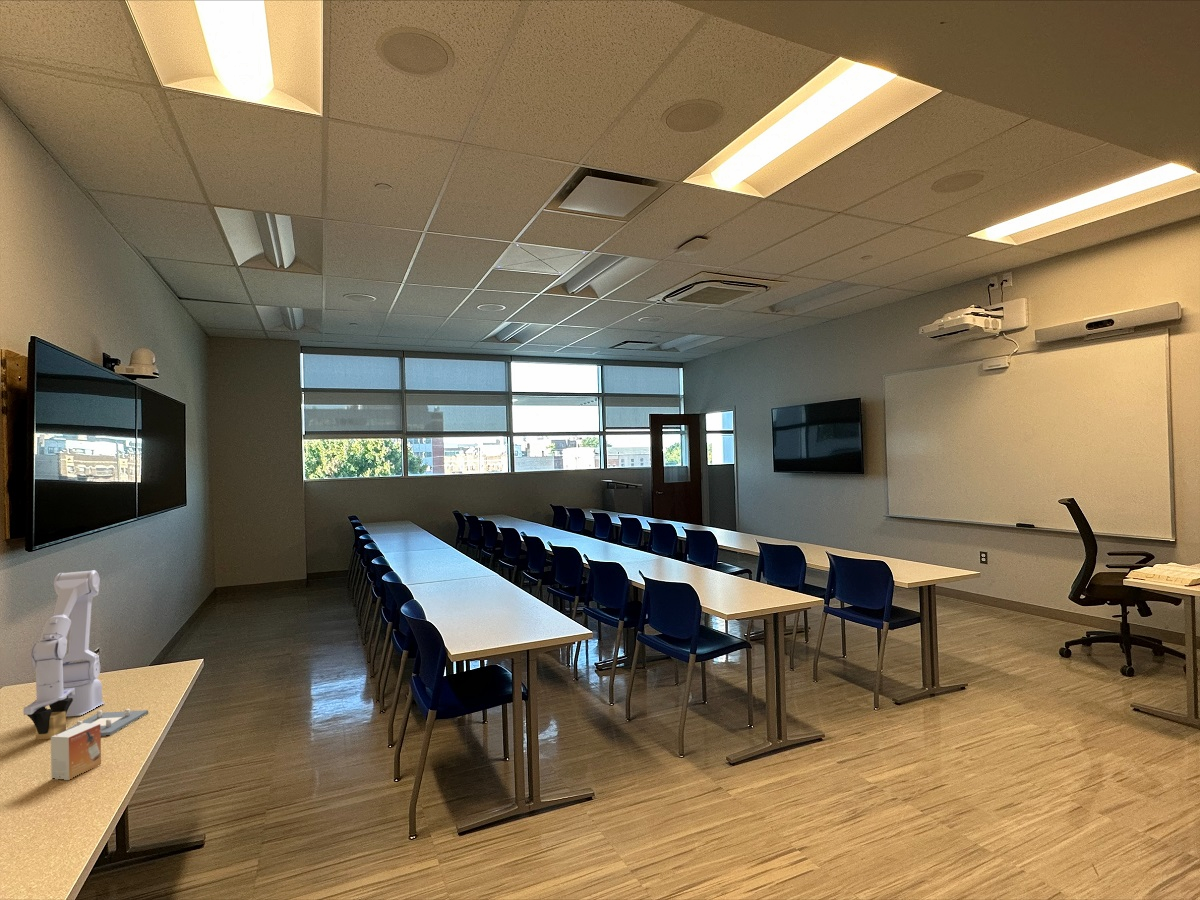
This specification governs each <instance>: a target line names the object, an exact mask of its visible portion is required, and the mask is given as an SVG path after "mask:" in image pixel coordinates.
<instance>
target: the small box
mask: <svg viewBox="0 0 1200 900" xmlns="http://www.w3.org/2000/svg"><path fill="white" fill-rule="evenodd" d="M68 729H69V728H68ZM66 730H67V729H66ZM101 737H102V736H101V728H100V724H92V723H82V724H80V725H79V726H76V727H74V728H72V729H69V730H67V731H64V732H62V733H60V734H57V735H54V736H52V737H51V739H50V765H51V766H50V767H51V768H50V769H51V771H50V774H51V775H50V777H51V779H52V778H55V779H54V780H58V779H64V780H63V781H70V779H71V780H72V779H74V778H76V777H78V776H80V775H82V774H84V772H85V773H87V772H89V771H91V770H93V769H95V768H97V767H96V766H98V765H100V764H101V765H102V739H101ZM101 765H100V766H101ZM94 767H95V768H94ZM98 767H99V766H98ZM92 768H93V769H92ZM90 769H91V770H90ZM88 770H89V771H88ZM86 771H87V772H86ZM81 773H82V774H81ZM79 774H80V775H79ZM77 775H78V776H77ZM75 776H76V777H75ZM73 777H74V778H73Z"/></svg>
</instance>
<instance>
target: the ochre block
mask: <svg viewBox="0 0 1200 900" xmlns="http://www.w3.org/2000/svg"><path fill="white" fill-rule="evenodd" d="M66 718H67V717H66V711H64V712H51V715H50V719H49V730H48V733H46V734H38V731H37V729H36V728H35V740H49V739H50V740H51V737H52V736H54V735H57V734H59V733H61V732H63V731H65V730H67V719H66Z"/></svg>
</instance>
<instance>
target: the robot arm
mask: <svg viewBox="0 0 1200 900" xmlns="http://www.w3.org/2000/svg"><path fill="white" fill-rule="evenodd" d="M100 581H101V580H100V575H99V573H98V571H97V570H95V569H92V570H85V571H73V572H72V571H71V572H59V573H57V575H56V576H55V577H54V580H53V587H54V588H53V589H54V591H55V594H56V595H57V598H56V603H55V607H54V611H53V616H52V617H49V618H48V619H47V620H45V621H46V622H45V624H44V626H43V629H42V633H41V635H40V638H39V640H38V642H37V643H35V644H33V645H32V647H31V651H30V660H31V662H32V667H33V669H34V670H35V683H36V684H35V686H36V689H35V690H36V691H35V692H36V694H35V695H36V700H34V701H33V702H31V703H30V704H29V705H27V706H25V707H23V715H24V716H27V717H28V718H29V719H30V720H31V721H32V722H33V724H34V726H35V730H36V729H37V731H38V734H46V733H48V730H49V719H50V715H51V712H64V711H66V718H67V717H80V716H81V715H82V716H84V715H86V714H88V713H90V712H91V710H92V711H94V710H95V708H96V707H98V706H100V705H101V706H103V705H105V704H106V702H105V701H103V683H102V682H101V680H100V679H99V678H98V677H99V676H100V673H101V663H100V655H98V654H97V653H96V652H93V651H92V650H90V634H91V619H92V606H93V605H92V604H93V600H94V599H93V598H94V597H97V596H98V595H99V592H100ZM69 617H70V618H69ZM68 634H69V638H67V637H68ZM68 639H69V642H68ZM67 645H68V647H67ZM67 648H68V653H67ZM66 653H67V654H66ZM78 661H79V662H78ZM104 703H105V704H104ZM102 704H103V705H102ZM48 706H49V708H47V707H48ZM101 706H100V707H101ZM98 708H99V707H98ZM93 709H94V710H93ZM96 709H97V708H96ZM89 711H90V712H89ZM87 712H88V713H87ZM85 713H86V714H85ZM83 714H84V715H83Z"/></svg>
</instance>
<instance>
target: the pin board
mask: <svg viewBox="0 0 1200 900" xmlns="http://www.w3.org/2000/svg"><path fill="white" fill-rule="evenodd" d="M147 713H148V714H149V710H148V709H143V710H131V709H130V708H126V709H124V711H111V712H109V711H108V712H103V710H102V709H99V710H97V711H96V713H95V714H93V715H92V716H90V717H88V718H86V719H84V720H78V721H76V724H75V725H73V726H70V727H69V728H68V729H67V728H66V730H65V731H67V730H69V729H72V728H74V727H76V726H79V725H80V724H82V723H92V724H100V728H101V737H107V736H106V735H111V736H113V735H114V734H116V733H118V732H119V731H121V730H122V729H121V728H123V727H124V728H126V727H127V726H126V725H128V724H130V723H131V722H133V721H135V720H136V721H138V720H139V719H138V718H140V717H141V718H143V717H145V716H146V715H145V714H147ZM148 714H147V715H148ZM144 715H145V716H144ZM142 716H143V717H142ZM141 718H140V719H141ZM137 719H138V720H137ZM136 721H135V722H136ZM133 723H134V722H133ZM131 724H132V723H131ZM131 724H130V725H131ZM125 726H126V727H125ZM128 726H129V725H128ZM124 728H123V729H124ZM120 729H121V730H120ZM118 730H119V731H118ZM117 731H118V732H117ZM63 732H64V731H63ZM115 732H116V733H115ZM61 733H62V732H61ZM113 733H114V734H113ZM59 734H60V733H59ZM112 734H113V735H112Z"/></svg>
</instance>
